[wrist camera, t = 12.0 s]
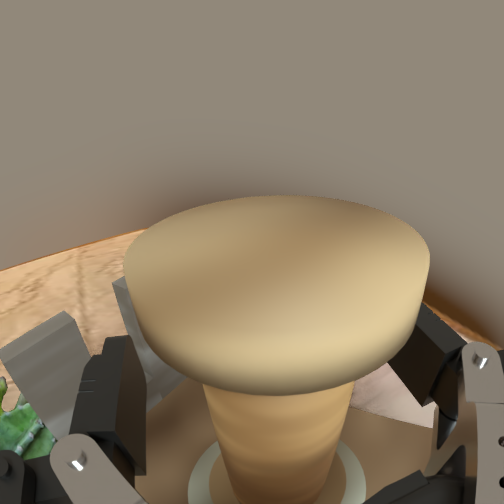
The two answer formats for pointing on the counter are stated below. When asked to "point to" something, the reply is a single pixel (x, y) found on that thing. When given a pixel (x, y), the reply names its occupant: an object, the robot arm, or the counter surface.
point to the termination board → (191, 416)
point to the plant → (23, 429)
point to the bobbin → (277, 327)
